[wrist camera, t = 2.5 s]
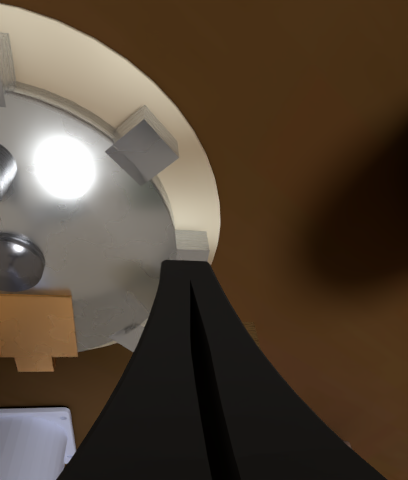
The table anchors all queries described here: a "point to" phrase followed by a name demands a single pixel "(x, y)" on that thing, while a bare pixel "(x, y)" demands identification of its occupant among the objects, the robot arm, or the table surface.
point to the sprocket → (79, 224)
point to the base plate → (114, 105)
